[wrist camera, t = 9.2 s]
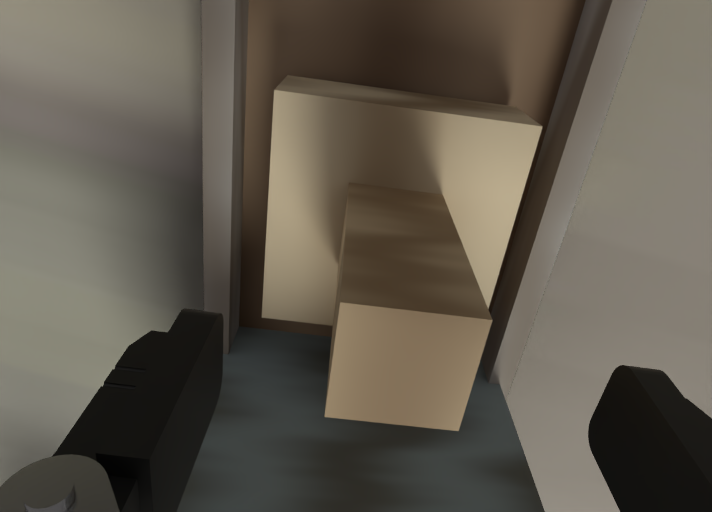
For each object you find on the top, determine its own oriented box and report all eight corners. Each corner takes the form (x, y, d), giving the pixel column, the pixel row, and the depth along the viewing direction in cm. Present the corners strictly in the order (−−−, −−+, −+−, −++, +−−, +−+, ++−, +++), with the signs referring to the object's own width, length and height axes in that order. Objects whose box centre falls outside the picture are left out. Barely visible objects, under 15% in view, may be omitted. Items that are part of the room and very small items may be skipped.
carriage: (515, 106, 18) (667, 218, 9) (463, 299, 21) (535, 514, 13) (287, 74, 17) (209, 159, 9) (274, 276, 21) (210, 482, 12)
